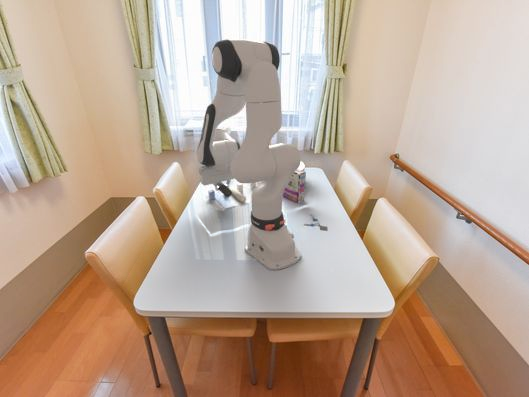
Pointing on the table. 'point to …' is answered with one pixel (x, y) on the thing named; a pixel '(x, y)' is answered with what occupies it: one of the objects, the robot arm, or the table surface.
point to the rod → (237, 194)
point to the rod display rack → (231, 197)
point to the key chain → (318, 225)
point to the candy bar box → (295, 186)
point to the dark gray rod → (224, 189)
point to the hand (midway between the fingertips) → (222, 188)
